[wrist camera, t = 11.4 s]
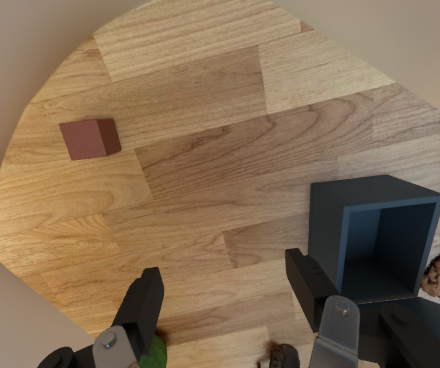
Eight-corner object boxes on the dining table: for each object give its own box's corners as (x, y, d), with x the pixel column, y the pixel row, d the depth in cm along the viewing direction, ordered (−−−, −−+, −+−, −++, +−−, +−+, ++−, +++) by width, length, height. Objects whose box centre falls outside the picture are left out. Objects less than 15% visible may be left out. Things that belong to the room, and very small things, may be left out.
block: (80, 122, 29) (58, 123, 25) (113, 118, 29) (96, 119, 25) (91, 153, 31) (71, 160, 26) (121, 150, 31) (107, 156, 26)
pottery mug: (304, 357, 49) (304, 406, 43) (265, 347, 53) (261, 390, 47) (294, 341, 42) (293, 396, 36) (251, 331, 47) (244, 379, 41)
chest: (310, 183, 34) (343, 206, 25) (387, 174, 34) (445, 194, 25) (307, 265, 39) (333, 306, 31) (373, 257, 39) (417, 296, 31)
